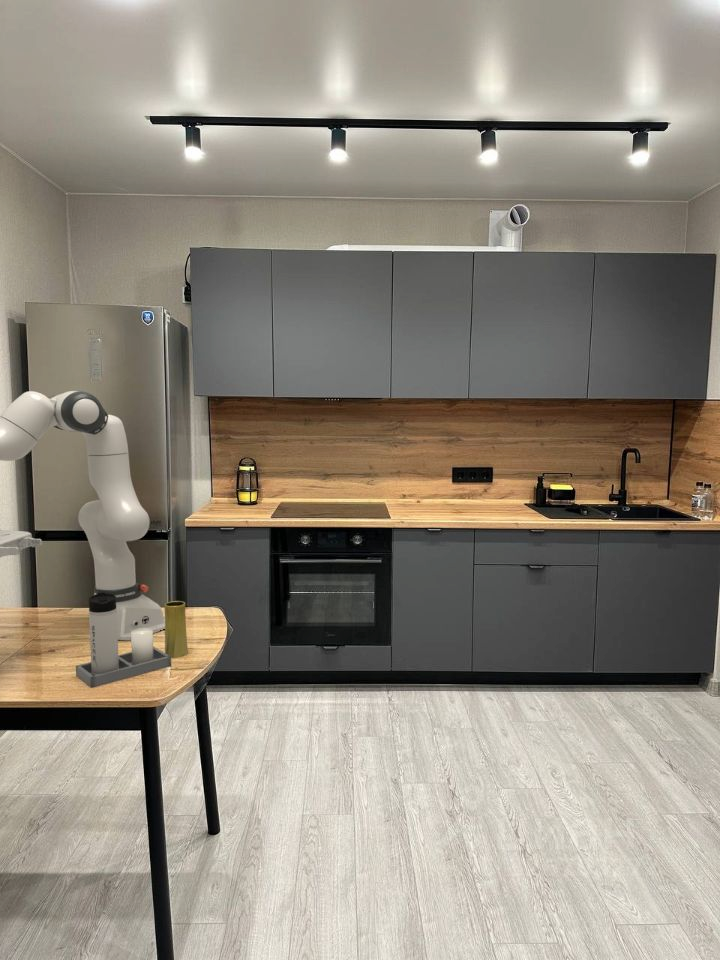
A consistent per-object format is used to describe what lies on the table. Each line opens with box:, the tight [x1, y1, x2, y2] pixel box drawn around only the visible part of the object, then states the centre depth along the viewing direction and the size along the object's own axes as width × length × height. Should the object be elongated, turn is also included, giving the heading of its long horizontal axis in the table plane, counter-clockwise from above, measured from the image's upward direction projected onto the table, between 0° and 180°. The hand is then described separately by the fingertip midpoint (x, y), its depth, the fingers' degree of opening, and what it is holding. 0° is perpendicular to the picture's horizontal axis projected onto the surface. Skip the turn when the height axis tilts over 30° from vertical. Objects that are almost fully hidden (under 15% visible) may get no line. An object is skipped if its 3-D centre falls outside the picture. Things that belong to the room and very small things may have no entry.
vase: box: [164, 600, 189, 659], centre depth 176 cm, size 6×6×14 cm
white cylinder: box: [130, 628, 154, 665], centre depth 168 cm, size 5×5×9 cm
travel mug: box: [88, 592, 119, 676], centre depth 161 cm, size 6×7×20 cm
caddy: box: [75, 645, 172, 689], centre depth 165 cm, size 20×10×3 cm, turn 132°
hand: (29, 546), depth 162 cm, fingers open, 8 cm apart
